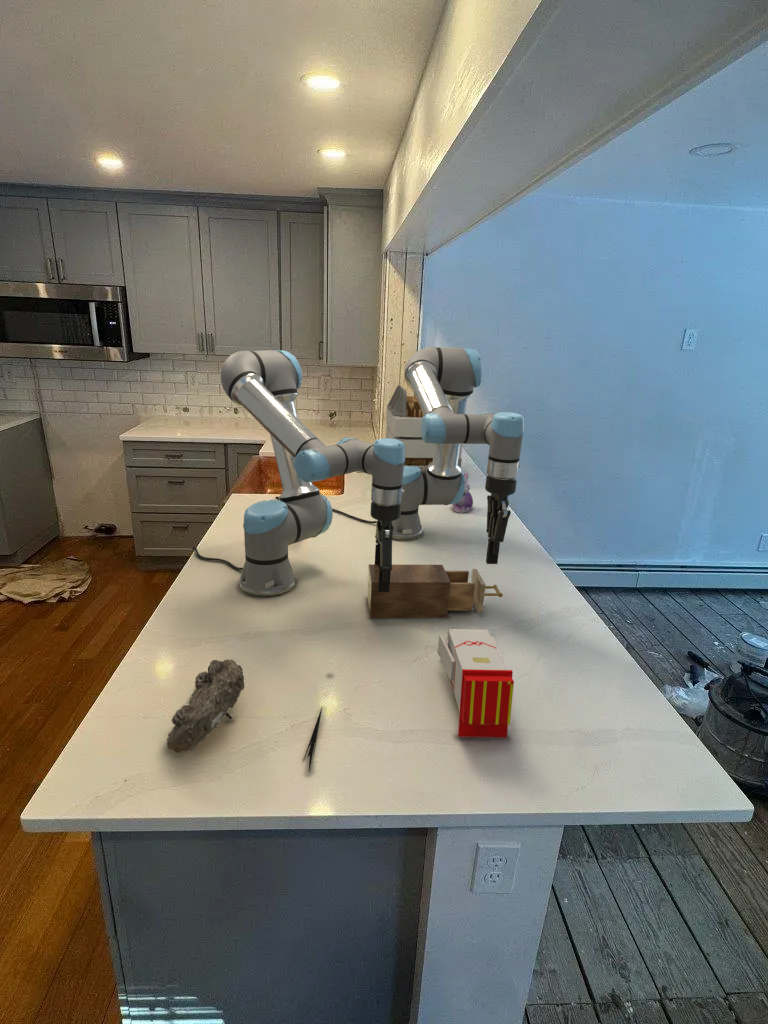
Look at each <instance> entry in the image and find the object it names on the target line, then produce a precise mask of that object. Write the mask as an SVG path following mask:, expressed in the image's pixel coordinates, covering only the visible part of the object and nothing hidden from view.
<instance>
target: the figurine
mask: <svg viewBox="0 0 768 1024" xmlns="http://www.w3.org/2000/svg"><path fill="white" fill-rule="evenodd" d="M464 476H465V489H464V493H463V496H462V498H461V500H460V501H459V502H458V503H456V504H451V505H452V506H451V509H452V510H453V512H456V513H462V514H463V513H468V512H470V511H471V510H472V509H473V505H474V499H473V496H472V494H471V492H470V489H471V487H470V484H469V482H468V479H469V473H468V472H465V473H464Z"/></svg>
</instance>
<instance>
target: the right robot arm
mask: <svg viewBox="0 0 768 1024" xmlns="http://www.w3.org/2000/svg"><path fill="white" fill-rule="evenodd" d="M404 379H405V382H406V384H407V386H408V388H409V389H410V390H412V391H413V393H414V396H415V397H416V398H417V400H418V403H419V405H420V407H421V410H422V412H423V415H424V416H423V418H422V421H421V434H422V439H423V441H424V442H426V443H435V446H434V454H433V462H431V463H430V464H429V465H428V466H426V471H422V469H421V467H420V466H407V465H404V471H403V481H402V483H403V484H402V489H403V490H404V493H401V495H402V498H401V502H400V504H401V515H400V518H399V519H397V520H395V521H392V526H393V533H392V540H395V541H410V540H415V539H418V538H420V537H421V536H422V535H423V525H422V524H421V518H420V515H419V507H420V506H449V505H453V504H456V503H458V502H459V501H460V500H461V498H462V496H463V493H464V489H465V476H464V475H465V473H464V472H462V467H461V468H460V467H459V466H458V458H459V451H460V445H461V444H462V445H488V446H489V450H488V457H487V465H486V474H487V476H486V477H485V484H484V485H485V486H484V489H485V491H486V492H487V493H489V494H490V495H486V496H487V497H486V501H487V503H486V504H487V506H486V507H487V509H486V531H485V532H486V534H487V537H488V538H487V548H486V558H485V563H486V564H487V565H498V563H499V562H498V561H499V556H500V555H499V554H500V545H501V543H504V541H505V536H506V531H507V527H508V523H509V518H510V516H511V514H512V513H511V510H509V509H508V508H509V504H510V502H509V498H508V497H509V496H511V495H514V494H515V493H516V492H517V483H518V479H517V477H518V473H519V468H521V463H520V457H521V452H522V451H521V449H522V444H523V435H524V433H525V426H524V425H525V418H524V416H523V415H522V414H520V413H516V412H510V411H509V412H508V411H507V412H506V411H501V412H491V411H483V412H482V413H477V414H475V413H473V414H471V413H470V414H469V413H466V410H467V403H468V402H467V401H468V398H470V397H471V396H473V394H474V389H475V388H478V387H480V386H481V383H482V381H483V364H482V359H481V355H480V354H479V352H478V350H476V349H474V348H465V347H436V346H429V347H424V348H421V349H419V350H418V351H416V352H415V353H414V354H413V355H411V356H410V357H409V359H408V360H407V362H406V364H405V367H404ZM279 497H280V496H275V497H274V498H275V500H280V499H279ZM332 512H335V513H339V514H341V515H343V516H346V517H348V518H351V519H354V520H357V521H359V522H363V523H366V524H376V522H377V520H367V519H363V518H361V517H360V518H359V517H357V516H354V515H352V514H349V513H347V512H344V511H341V510H338V509H335V508H332Z"/></svg>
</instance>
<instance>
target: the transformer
mask: <svg viewBox="0 0 768 1024" xmlns="http://www.w3.org/2000/svg"><path fill="white" fill-rule="evenodd" d="M407 394H408V393H407V390H406V389H404V388H403V387H402V385H399V384H398V385H397V386H396V388H395V390H394V392H393V394H392V395H391V398H390V400H389V402H388V404H387V405H386V413H385V414H386V415H385V423H386V428H385V438H390V439H397V440H400V441H402V442H403V443H404V446H405V462H404V466H415V467H428V465H429V464H430V463H431V462H433V454H434V446H435V443H426V442H424V441H423V439H422V434H421V421H422V418H423V416H424V415H423V412H422V410H421V407H420V405H419V403H418V400H417V398H416V395H414V396H413V395H412V396H411V395H407ZM462 453H463V444H461V445H460V451H459V458H458V466H459V467H460V468H461V469H462V461H463V460H462Z"/></svg>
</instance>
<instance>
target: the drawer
mask: <svg viewBox="0 0 768 1024" xmlns="http://www.w3.org/2000/svg"><path fill="white" fill-rule="evenodd" d="M445 571H446V574H447V576H448V578H449V581H450V590H449V601H448V612H449V611H450V612H452V611H454V612H455V611H459V612H460V611H473V607H474V608H475V610H476V612H477V614H483V611H484V602H485V597H498V598H502V597H503V595H504V593H503V592H502V591H501V589H500V587H499V585H498V584H494V585H486V583H485V581H484V579H483V577H482V575H481V574H480V572H479V570H478V568H472V570H471V571H472V572H471V582H469V575H470V571H469V570H445ZM490 589H491V590H493V589H494V591H495V592H486V590H490Z"/></svg>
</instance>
